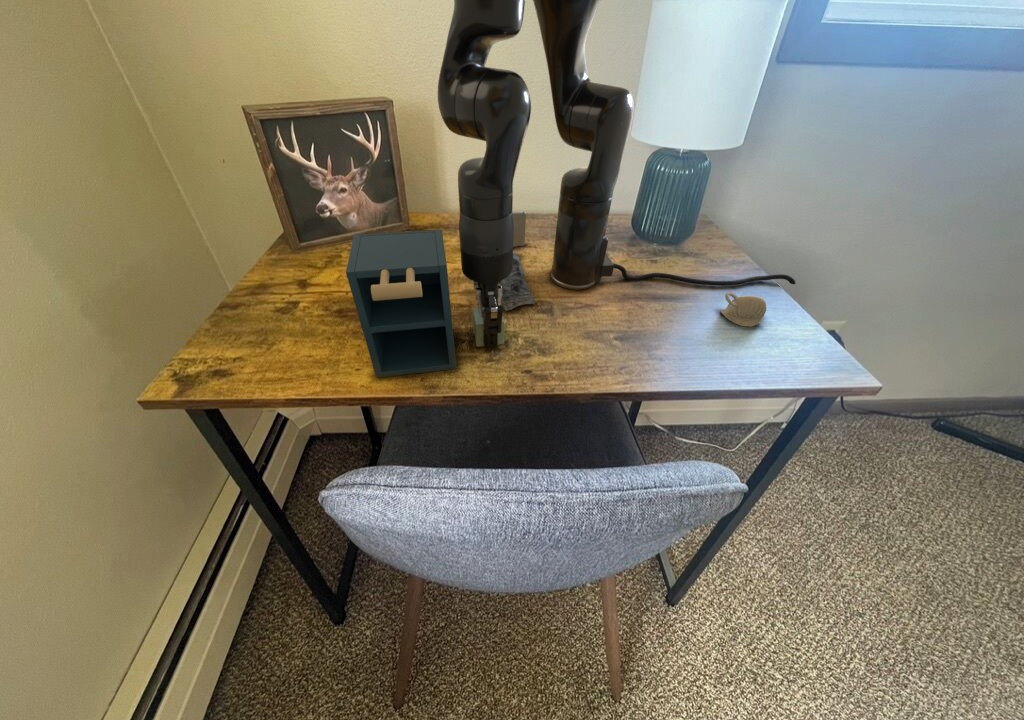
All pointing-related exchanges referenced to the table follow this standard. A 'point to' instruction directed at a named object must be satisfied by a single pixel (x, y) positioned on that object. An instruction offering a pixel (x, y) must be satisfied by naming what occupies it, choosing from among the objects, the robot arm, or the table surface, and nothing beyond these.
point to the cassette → (519, 228)
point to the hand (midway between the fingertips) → (488, 335)
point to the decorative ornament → (745, 310)
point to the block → (479, 330)
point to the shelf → (403, 301)
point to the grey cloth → (515, 287)
